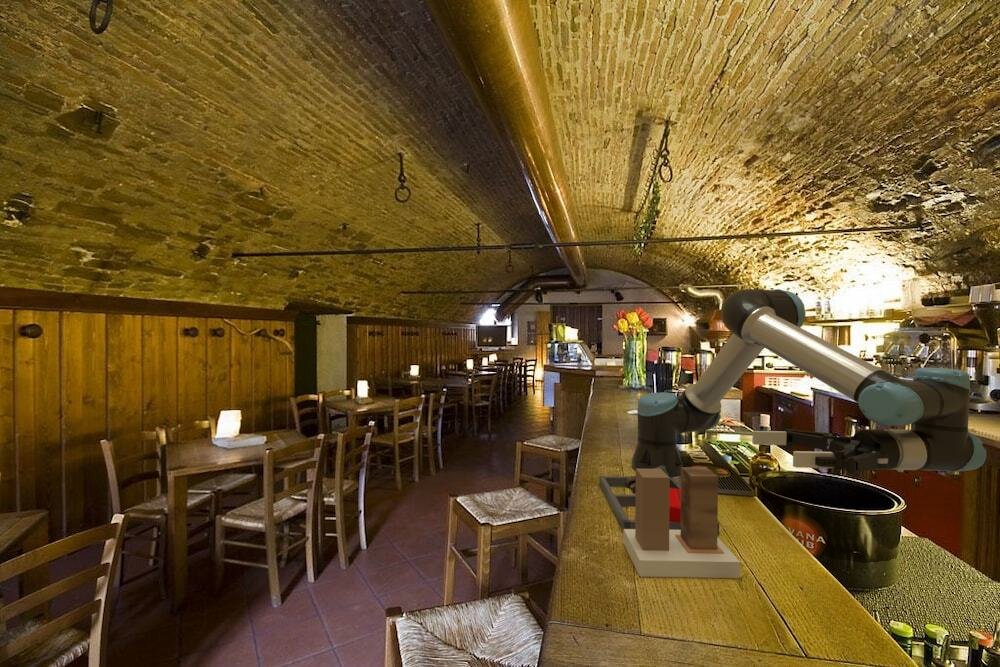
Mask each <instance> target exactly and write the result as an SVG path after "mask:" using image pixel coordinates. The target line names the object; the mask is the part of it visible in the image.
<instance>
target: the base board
mask: <svg viewBox="0 0 1000 667" xmlns="http://www.w3.org/2000/svg"><path fill="white" fill-rule="evenodd" d="M635 476H636V504H635V506H634V507H635V511H634V512H635V519H634V520H635V529H624V530H623V529H622V532H623V533H622V534H623V540H622V541H623V545H624V547H625V550H626V551H627V554H628V555H629V557H630V560H631V561H632V564H633V566H634V568H635V570H636V572H637V573H638V576H639V577H640V578H641V577H642V578H645V577H646V578H647V577H648V578H649V577H651V578H652V577H653V578H654V577H655V578H695V579H697V578H703V579H704V578H705V579H707V578H710V579H741V560H739V558H737V557H736V555H734V553H733V552H732V551H731V550H730V549H729V548H728V547H727V546H726V545H725V544H724V543H723V542H722V541H721V539H720V538H719V537H718V536H717V550H708V549H690V548H689V547H688V545H687V544H686V543H685V541H684V540H683V539H682V538H681V536H680V535H681V530H669V510H670V477H671V476H668V475H667V474H666V473H665V472H664V471H663V470H662V469H636V470H635Z"/></svg>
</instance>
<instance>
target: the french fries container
mask: <svg viewBox="0 0 1000 667" xmlns="http://www.w3.org/2000/svg"><path fill="white" fill-rule="evenodd" d="M669 521H671V522H679V523H681V490H680V489H677V488H670V510H669Z"/></svg>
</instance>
